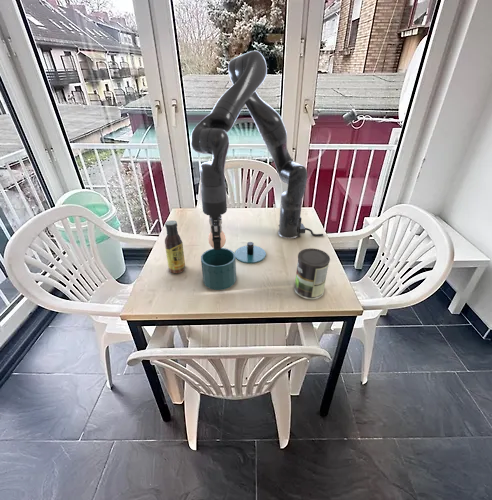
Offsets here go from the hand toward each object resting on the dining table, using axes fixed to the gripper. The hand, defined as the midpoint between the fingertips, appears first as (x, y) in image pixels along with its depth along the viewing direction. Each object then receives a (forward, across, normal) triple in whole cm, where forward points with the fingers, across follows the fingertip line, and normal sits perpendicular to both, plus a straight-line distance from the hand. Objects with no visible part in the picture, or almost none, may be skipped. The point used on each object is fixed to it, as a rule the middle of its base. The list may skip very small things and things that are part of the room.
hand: (217, 244), depth 96 cm
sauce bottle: (+16, +9, +16) cm, 24 cm away
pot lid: (+15, +15, -13) cm, 25 cm away
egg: (+2, 0, 0) cm, 2 cm away
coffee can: (+16, -9, -31) cm, 36 cm away
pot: (+15, 0, 0) cm, 15 cm away
